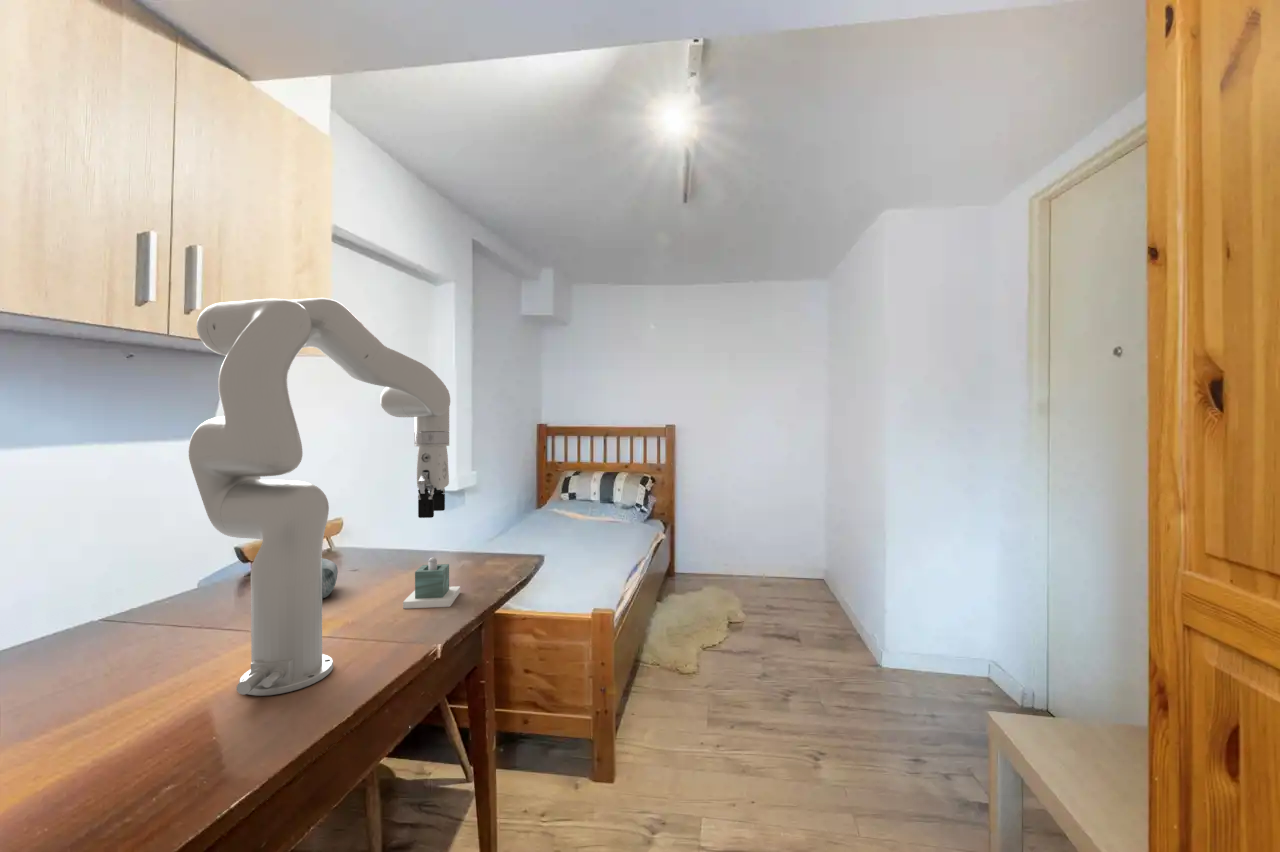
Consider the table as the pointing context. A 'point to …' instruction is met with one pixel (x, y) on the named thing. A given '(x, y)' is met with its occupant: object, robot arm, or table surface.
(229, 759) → the table surface
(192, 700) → the table surface
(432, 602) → the white peg stand
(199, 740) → the table surface
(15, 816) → the table surface
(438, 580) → the bead
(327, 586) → the spool
